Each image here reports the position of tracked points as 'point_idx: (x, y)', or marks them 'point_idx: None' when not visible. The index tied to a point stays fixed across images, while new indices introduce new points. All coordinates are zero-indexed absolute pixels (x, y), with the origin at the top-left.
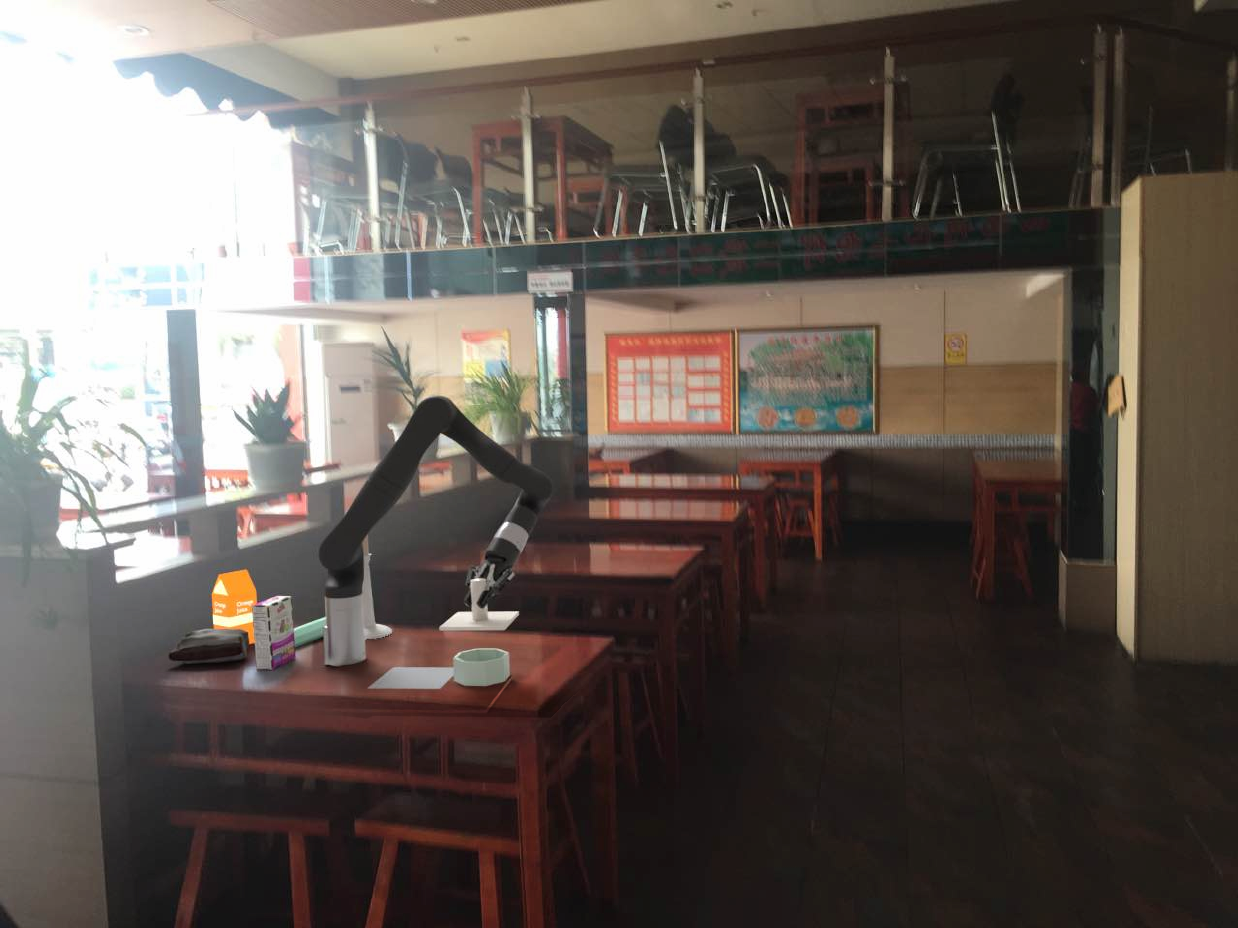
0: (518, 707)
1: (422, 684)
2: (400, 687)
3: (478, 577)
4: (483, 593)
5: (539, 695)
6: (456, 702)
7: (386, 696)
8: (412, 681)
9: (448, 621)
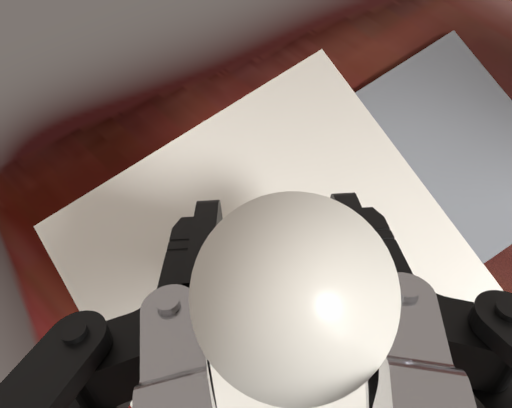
0: (21, 163)
1: None
2: (388, 82)
3: (390, 386)
4: (191, 258)
5: (35, 264)
6: (182, 102)
7: (369, 35)
8: (409, 133)
9: (381, 149)
